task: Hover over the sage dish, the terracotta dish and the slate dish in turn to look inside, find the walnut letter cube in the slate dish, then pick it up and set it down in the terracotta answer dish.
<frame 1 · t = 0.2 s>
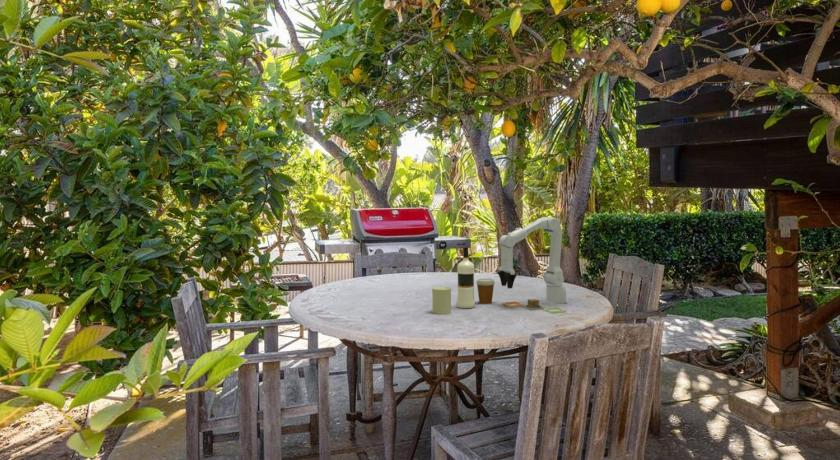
hand: (506, 287, 288), 10 cm above the table, tool pointing down, fingers open, 7 cm apart
letter cube: (533, 308, 284), resting on slate dish
slate dish: (533, 308, 284), on the table
vodka: (465, 307, 289), on the table
disposable coffee cup: (485, 303, 298), on the table
terracotta dish: (513, 305, 291), on the table
sage dish: (554, 311, 277), on the table
can: (441, 312, 279), on the table
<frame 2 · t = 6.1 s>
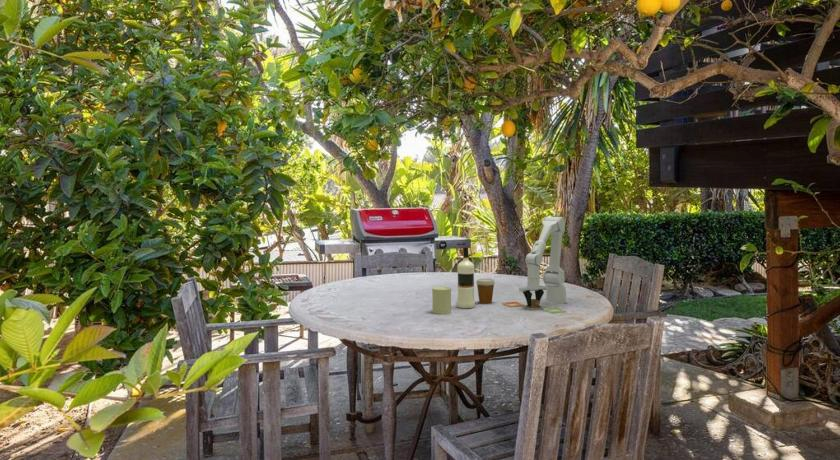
hand: (533, 305, 284), 2 cm above the table, tool pointing down, fingers closed on letter cube, 4 cm apart
letter cube: (533, 308, 284), resting on slate dish, touching gripper
everything else where it was.
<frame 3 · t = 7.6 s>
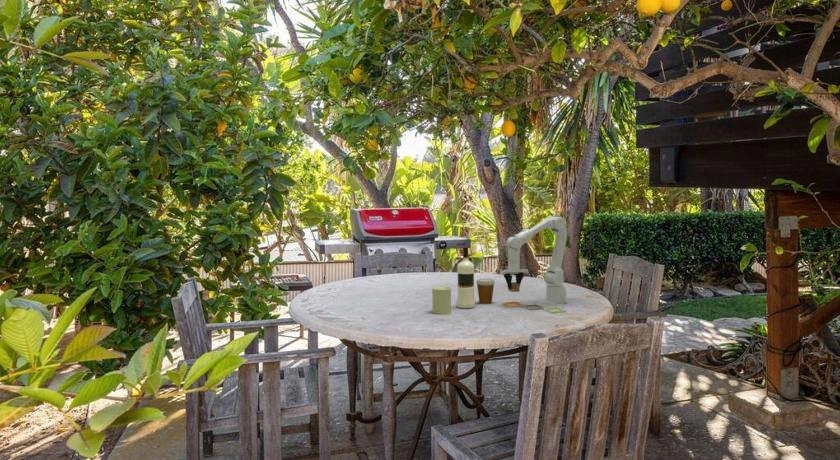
hand: (513, 288, 290), 9 cm above the table, tool pointing down, fingers closed on letter cube, 4 cm apart
letter cube: (513, 291, 290), point 8 cm above the table, touching gripper
everything else where it was.
when the fingers open (4 cm above the table, at t = 9.0 s): letter cube drops 2 cm, resting on terracotta dish.
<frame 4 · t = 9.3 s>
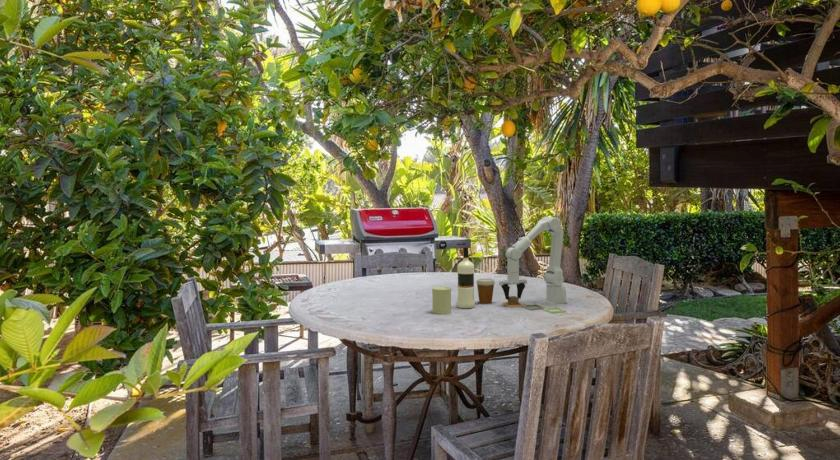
hand: (513, 298, 291), 4 cm above the table, tool pointing down, fingers open, 6 cm apart
letter cube: (513, 305, 291), point 1 cm above the table, touching terracotta dish
everything else where it was.
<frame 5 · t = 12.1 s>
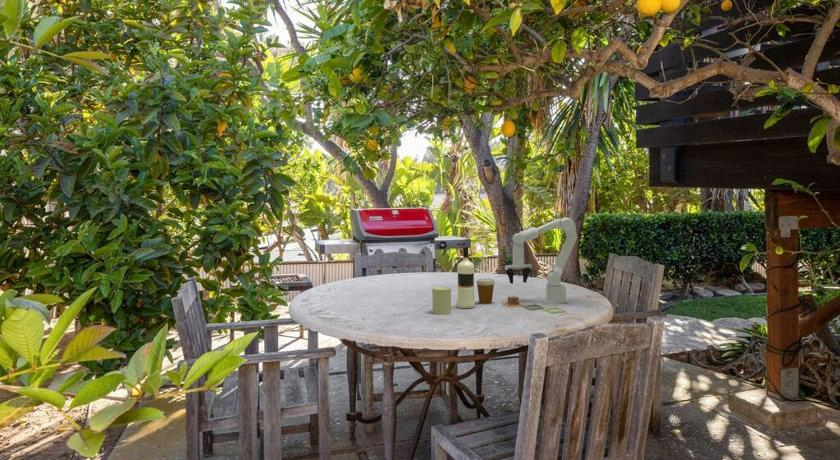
hand: (518, 282, 300), 10 cm above the table, tool pointing down, fingers open, 7 cm apart
nothing on the table moved.
at the end: letter cube inside the target area on the terracotta dish (0.2 cm from its centre), point 0.5 cm above the terracotta dish's base; the gripper is holding nothing; letter cube tilted 0° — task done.
